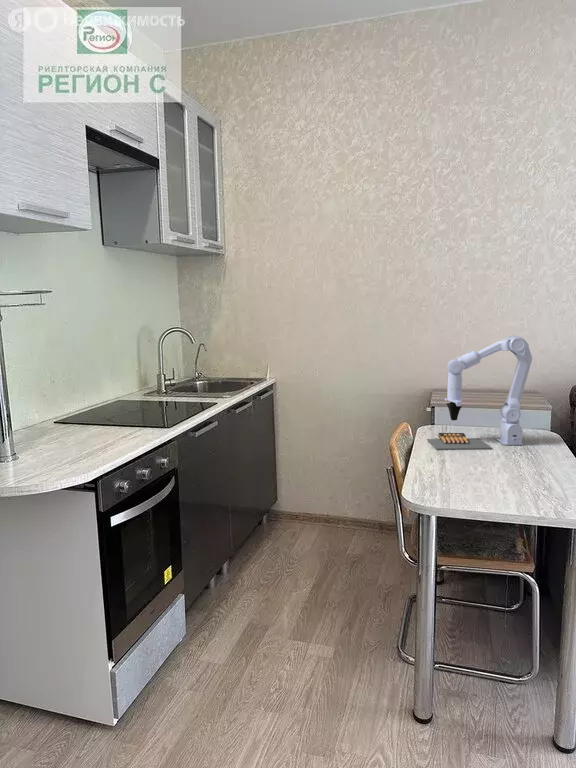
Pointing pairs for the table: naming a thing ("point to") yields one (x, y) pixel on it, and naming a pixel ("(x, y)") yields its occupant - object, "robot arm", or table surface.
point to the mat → (459, 444)
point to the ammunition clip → (453, 437)
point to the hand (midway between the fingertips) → (453, 420)
